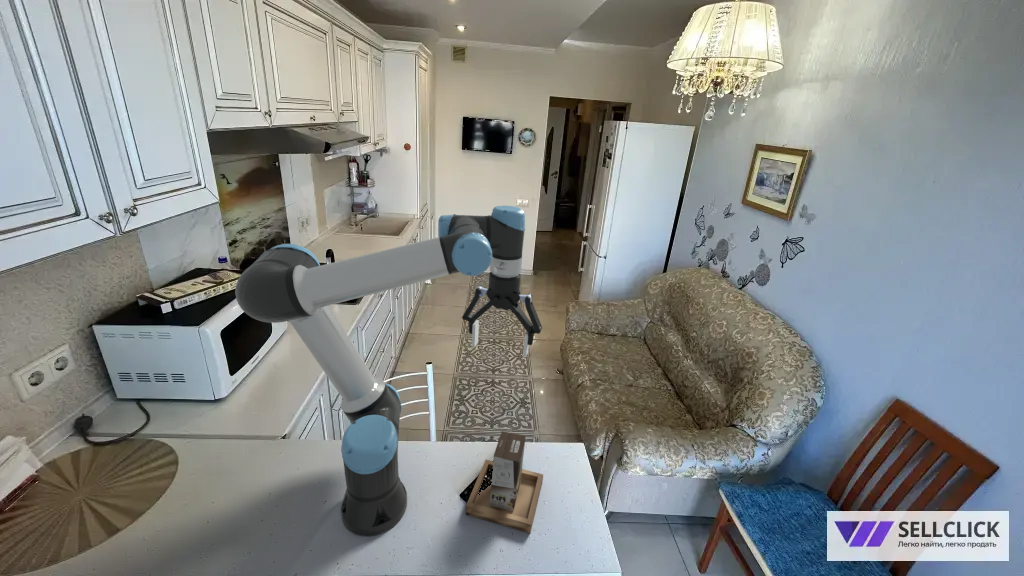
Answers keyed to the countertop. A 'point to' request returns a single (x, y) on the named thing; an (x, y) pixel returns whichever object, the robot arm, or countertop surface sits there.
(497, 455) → the coffee box
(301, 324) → the robot arm
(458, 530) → the countertop surface
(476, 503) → the wooden tray
